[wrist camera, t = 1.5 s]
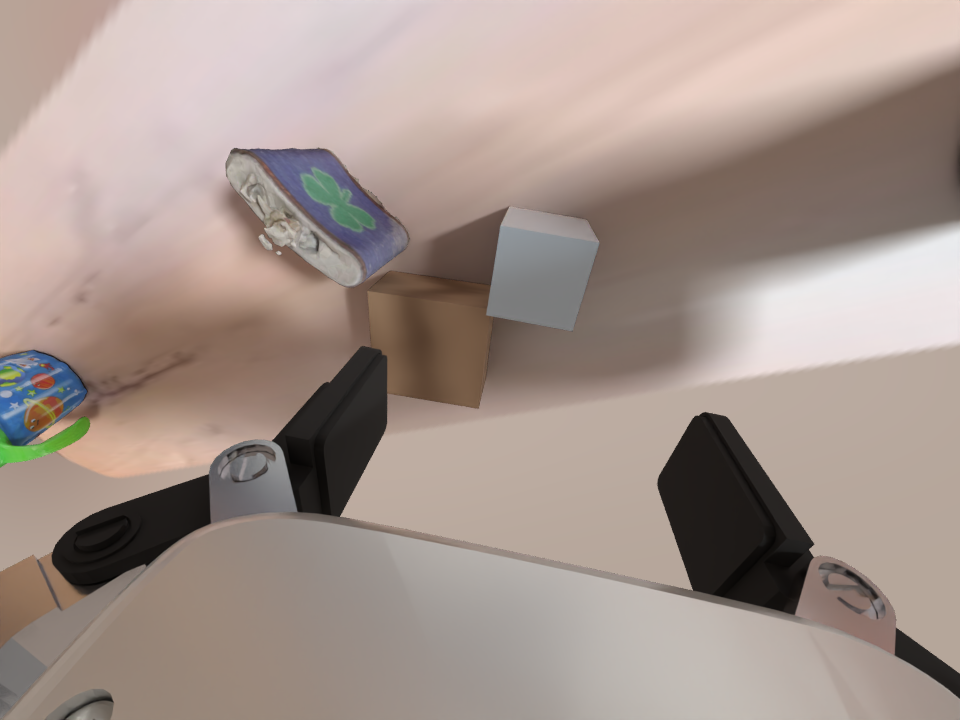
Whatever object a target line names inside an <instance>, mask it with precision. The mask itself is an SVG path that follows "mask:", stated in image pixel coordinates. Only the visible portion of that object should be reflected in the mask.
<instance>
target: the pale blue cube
mask: <svg viewBox="0 0 960 720" xmlns="http://www.w3.org/2000/svg"><path fill="white" fill-rule="evenodd" d="M599 243H600V242H599V241H598V239H597V237H596V235H595V234H594V232H593V230H592V228H591V226H590V225H589V223H588V221H587V219H581V218H576V217H570V216H564V215H558V214H552V213H547V212H541V211H535V210H529V209H523V208H518V207H512V206H510V207H509V209H508V211H507V213H506V215H505V217H504V219H503V221H502V223H501V226H500V232H499V238H498V244H497V251H496V257H495V263H494V269H493V276H492V282H491V288H490V294H489V300H488V307H487V313H486V315H488V316H493V317H498V318H504V319H509V320H514V321H520V322H525V323H530V324H536V325H541V326H546V327H552V328H557V329H562V330H568V331H573V328H574V325H575V322H576V318H577V315H578V312H579V309H580V305H581V302H582V299H583V296H584V292H585V289H586V286H587V283H588V279H589V276H590V273H591V269H592V266H593V263H594V260H595V256H596V253H597V250H598V247H599Z"/></svg>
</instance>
